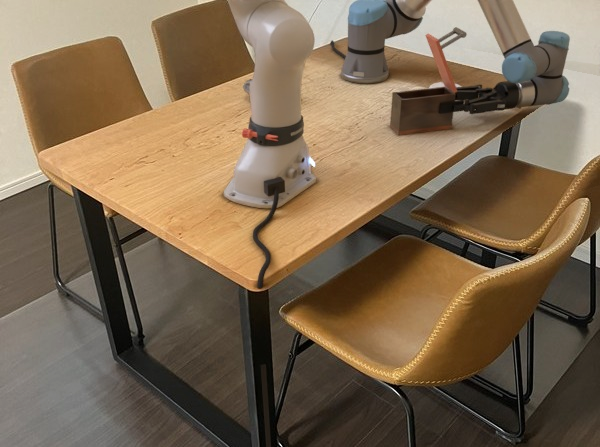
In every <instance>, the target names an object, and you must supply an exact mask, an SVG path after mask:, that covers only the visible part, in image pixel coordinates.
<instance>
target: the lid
mask: <svg viewBox="0 0 600 447" xmlns="http://www.w3.org/2000/svg"><path fill="white" fill-rule="evenodd" d="M455 34H456V36H455V37H452V36H453V35H455ZM467 35H468V34H467V32H466V31H464V30H462V29H461V28H459V27H457V26H456V27H453V29H452V30H451V31H450V32H448V33H446V34H445V35H443V36H441V37H439V38H436V37H435V36H433V35H432V34H430V33H426V34H425V35H424V36H425V38H426V40H427V43H428V46H429V49H430V51H431V54H432V57H433V60H434V62H435V65H436V68H437V70H438V72H439V76H440V77H441V80H442V81H441V82H443V83H444V86H446V87H447V88H448V89H450V90H451V91H452V92H454V93H456V92H457V89H456V86H455V84H456V83H455V81H454V78H453V75H452V73H451V70H450V66H449V65H448V62H447V59H446V56H445V54H444V51H443V50H444V49H445V48H447V47H448V46H450V45H452V44H453V43H455V42H457V41H458V40H460V39H464V38H466V37H467ZM451 37H452V38H451ZM448 38H451V39H449V40H448V41H445V40H447V39H448ZM443 41H445V42H444V43H443V44H441V43H442V42H443Z"/></svg>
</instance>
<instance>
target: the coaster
mask: <svg viewBox="0 0 600 447" xmlns="http://www.w3.org/2000/svg"><path fill="white" fill-rule="evenodd" d="M455 86H456V87H463V86H462V85H460V84H458V83H455ZM438 87H446V86H444V83H443V81H440V82H439V81H438V82H435V83H432V84H430V85H429V87H428V88H438ZM455 101H460V100H455Z"/></svg>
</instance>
